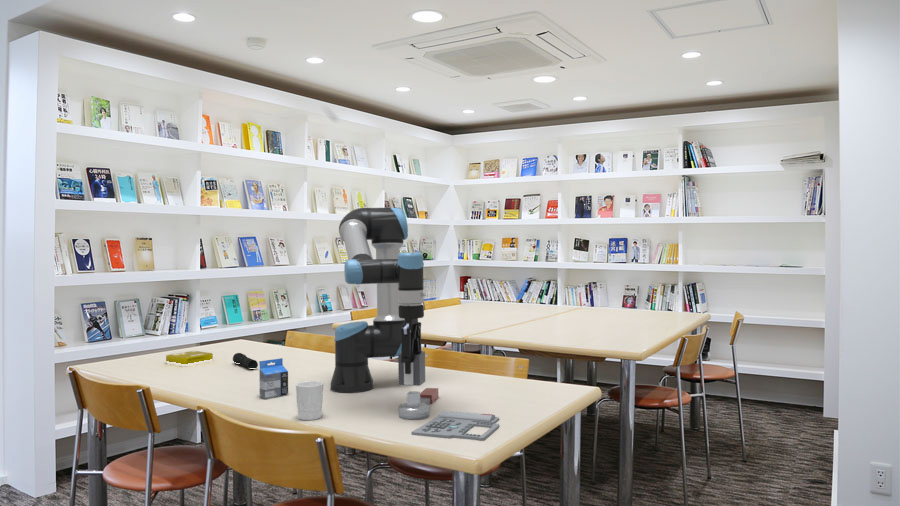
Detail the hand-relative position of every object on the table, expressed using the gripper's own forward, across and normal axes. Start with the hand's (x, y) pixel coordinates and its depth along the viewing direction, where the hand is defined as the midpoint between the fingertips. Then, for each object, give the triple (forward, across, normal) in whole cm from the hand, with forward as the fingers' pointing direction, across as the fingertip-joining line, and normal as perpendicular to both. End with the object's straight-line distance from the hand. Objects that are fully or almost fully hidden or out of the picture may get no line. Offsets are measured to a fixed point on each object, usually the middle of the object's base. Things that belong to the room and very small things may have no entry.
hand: (412, 382), depth 189 cm
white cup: (+10, -7, +30) cm, 32 cm away
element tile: (+11, +70, +122) cm, 142 cm away
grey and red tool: (+10, +10, 0) cm, 14 cm away
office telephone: (+11, -9, -16) cm, 22 cm away
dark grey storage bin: (0, 0, 0) cm, 0 cm away
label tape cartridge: (+10, +16, +53) cm, 57 cm away
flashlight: (+10, +66, +93) cm, 114 cm away
